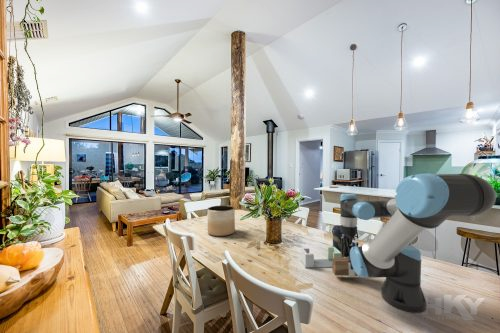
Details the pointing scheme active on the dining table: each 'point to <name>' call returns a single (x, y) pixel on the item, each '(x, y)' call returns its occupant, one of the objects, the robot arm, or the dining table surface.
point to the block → (340, 266)
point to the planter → (221, 220)
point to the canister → (337, 237)
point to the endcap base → (313, 260)
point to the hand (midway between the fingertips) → (349, 272)
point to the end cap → (333, 253)
